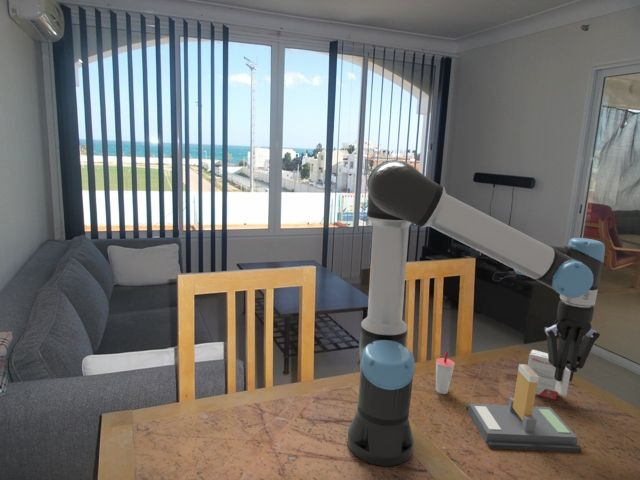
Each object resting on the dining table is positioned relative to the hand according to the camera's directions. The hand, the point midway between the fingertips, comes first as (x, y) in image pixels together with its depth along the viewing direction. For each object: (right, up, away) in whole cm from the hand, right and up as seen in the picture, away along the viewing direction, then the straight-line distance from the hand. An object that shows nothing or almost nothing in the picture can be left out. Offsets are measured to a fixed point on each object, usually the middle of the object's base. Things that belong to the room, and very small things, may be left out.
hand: (560, 392), depth 115 cm
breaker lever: (-9, -6, +1) cm, 11 cm away
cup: (-25, -6, +18) cm, 31 cm away
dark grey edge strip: (-9, -11, -6) cm, 16 cm away
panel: (-10, -10, +2) cm, 14 cm away
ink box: (+5, -7, +21) cm, 23 cm away
